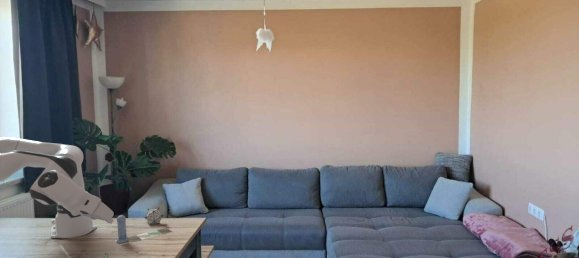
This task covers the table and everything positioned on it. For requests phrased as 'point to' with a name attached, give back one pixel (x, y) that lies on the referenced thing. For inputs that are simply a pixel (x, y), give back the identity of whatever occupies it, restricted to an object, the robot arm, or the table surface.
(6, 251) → the table surface
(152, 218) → the game die
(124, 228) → the pawn
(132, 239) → the track
